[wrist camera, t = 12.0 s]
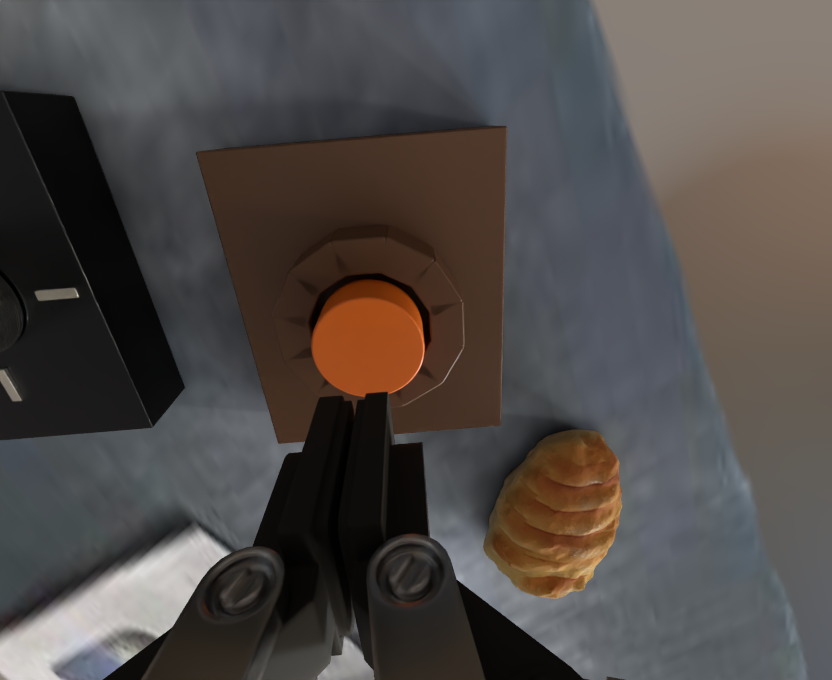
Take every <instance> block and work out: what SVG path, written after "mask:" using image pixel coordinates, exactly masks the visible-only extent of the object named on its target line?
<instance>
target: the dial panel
mask: <svg viewBox="0 0 832 680" xmlns="http://www.w3.org/2000/svg"><path fill="white" fill-rule="evenodd" d="M0 275H1V277H2V278H3V279H4V280H5V281H6V282H7V283H8V284H9V286H10V287H11V288H12V290H13V291H14V293H15V294H16V296H17V298H18V300H19V302H20V305H21V308H22V311H23V317H24V324H23V329H22V332H21V335H20V336H19V338H18V340H17V341H16V342H15V343H14V344H13V345H12V346H10V347H9V348H7V349H5V350H4V351H2V352H0V440H9V439H21V438H34V437H46V436H58V435H70V434H82V433H94V432H107V431H119V430H131V429H143V428H152V427H153V426H154V425H155V424H156V423H157V421H158V420H159V419H160V418H161V417H162V415H163V414H164V413H165V412H166V410H167V409H168V408H169V407H170V405H171V404H172V403H173V402H174V401H175V399H176V398H177V397H178V396H179V394H180V393H181V392H182V391H183V389H184V388H185V387H184V384H183V382H182V379H181V376H180V374H179V371H178V368H177V366H176V363H175V361H174V358H173V355H172V353H171V350H170V348H169V345H168V342H167V340H166V337H165V334H164V332H163V329H162V327H161V324H160V321H159V319H158V316H157V313H156V311H155V308H154V306H153V303H152V300H151V298H150V295H149V293H148V290H147V287H146V285H145V282H144V279H143V277H142V274H141V272H140V269H139V266H138V264H137V261H136V258H135V256H134V253H133V251H132V248H131V245H130V243H129V240H128V238H127V235H126V232H125V230H124V227H123V224H122V222H121V219H120V217H119V214H118V211H117V209H116V206H115V204H114V201H113V198H112V196H111V193H110V190H109V188H108V185H107V183H106V180H105V177H104V175H103V172H102V169H101V167H100V164H99V162H98V159H97V156H96V154H95V151H94V149H93V146H92V143H91V141H90V138H89V135H88V133H87V130H86V128H85V125H84V122H83V120H82V117H81V114H80V112H79V109H78V107H77V104H76V101H75V99H74V97H73V96H65V95H53V94H41V93H29V92H17V91H5V90H0Z"/></svg>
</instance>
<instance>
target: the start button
mask: <svg viewBox="0 0 832 680" xmlns="http://www.w3.org/2000/svg"><path fill="white" fill-rule="evenodd" d="M311 350H312V356H313V359H314V362H315V364H316V367H317V368H318V370H319V371H320V373H321V374H322V375H323V377H324V378H325V379H326V380H327V381H328V382H329V383H331V384H332V385H333V386H335V387H336V388H338V389H340V390H342V391H344V392H346V393H349V394H352V395H356V396H362V397H365V395H366V393H376V392H388V393H389V394H390V393H393V392H395V391H397V390H399V389H401V388H402V387H404V386H405V385H406V384H408V383H409V382H410V381H411V380H412V379H413V378H414V376H415V375H416V374H417V372H418V371H419V369H420V367H421V365H422V362H423V358H424V352H425V344H424V335H423V326H422V319H421V315H420V312H419V310H418V308H417V306H416V304H415V302H414V301H413V300H412V299H411V297H410V296H409V295H408V294H407V293H406V292H404V291H403V290H402V289H400V288H399V287H397V286H395V285H393V284H391V283H388V282H385V281H381V280H373V279H364V280H358V281H354V282H351V283H348V284H346V285H344V286H342V287H341V288H339V289H338V290H336V291H335V292H334V293H333V294H332V295H331V296H330V297H329V298H328V300H327V301H326V303H325V305H324V307H323V309H322V311H321V314H320V316H319V318H318V321H317V323H316V326H315V328H314V331H313V334H312V339H311Z"/></svg>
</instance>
